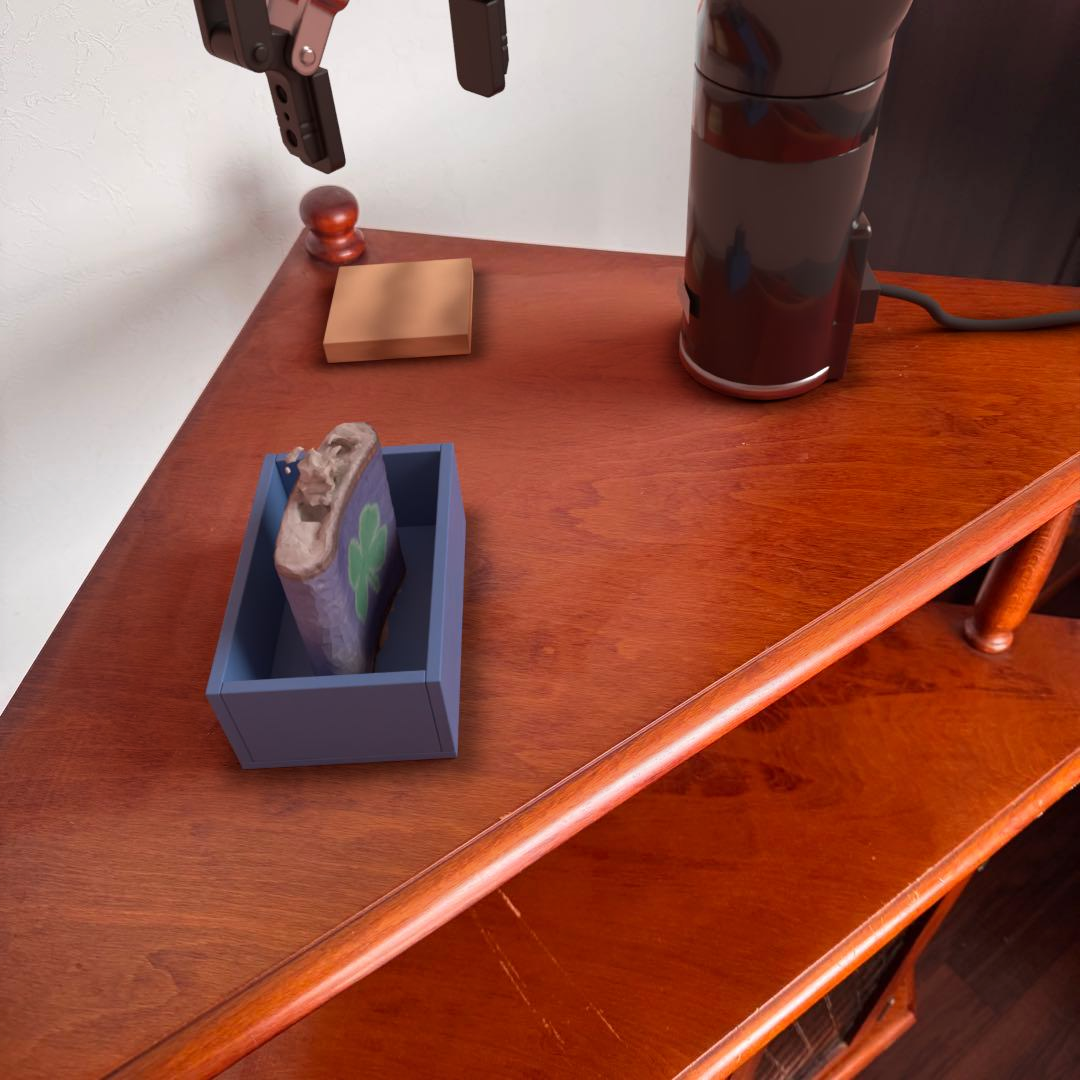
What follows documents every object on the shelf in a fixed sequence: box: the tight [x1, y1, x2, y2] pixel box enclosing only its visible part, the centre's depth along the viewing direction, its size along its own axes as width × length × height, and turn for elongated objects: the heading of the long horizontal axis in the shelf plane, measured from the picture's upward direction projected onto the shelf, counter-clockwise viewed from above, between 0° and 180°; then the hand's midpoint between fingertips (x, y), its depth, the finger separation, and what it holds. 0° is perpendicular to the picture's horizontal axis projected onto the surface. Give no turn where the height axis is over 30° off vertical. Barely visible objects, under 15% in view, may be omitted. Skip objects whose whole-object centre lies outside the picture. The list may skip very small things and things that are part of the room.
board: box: [322, 257, 474, 364], centre depth 66 cm, size 9×9×2 cm
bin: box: [204, 441, 467, 770], centre depth 46 cm, size 9×14×6 cm, turn 1°
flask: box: [273, 421, 408, 677], centre depth 44 cm, size 9×3×11 cm, turn 172°
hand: (406, 126), depth 40 cm, fingers open, 8 cm apart
